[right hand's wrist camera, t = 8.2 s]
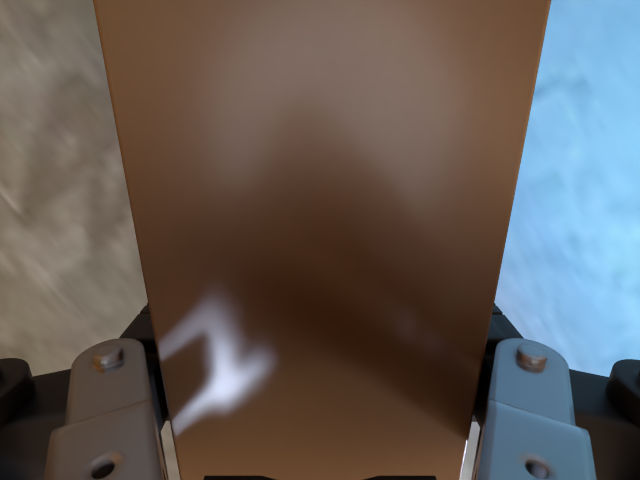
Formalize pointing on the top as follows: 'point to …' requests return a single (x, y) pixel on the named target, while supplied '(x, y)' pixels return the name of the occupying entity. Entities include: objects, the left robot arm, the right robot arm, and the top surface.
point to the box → (321, 219)
